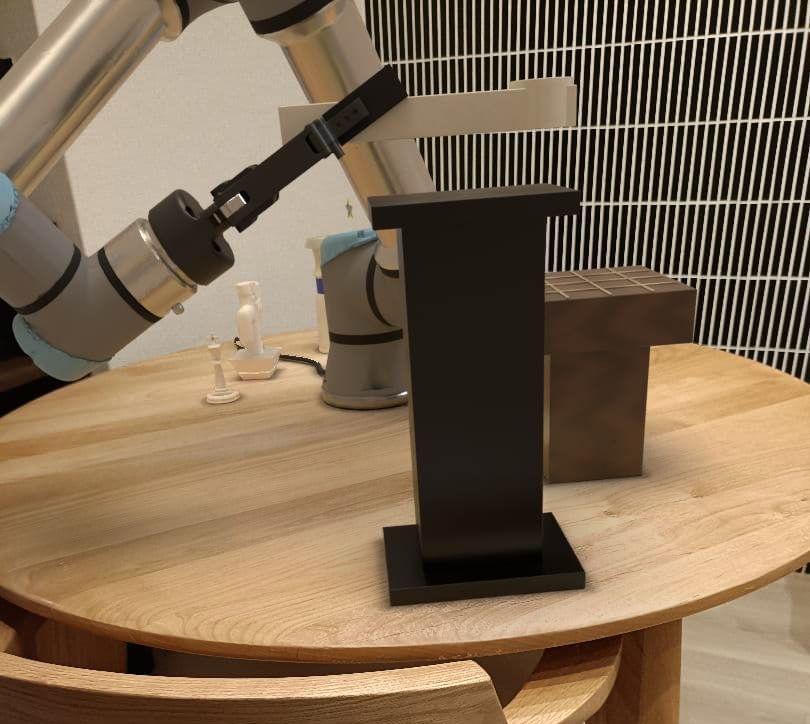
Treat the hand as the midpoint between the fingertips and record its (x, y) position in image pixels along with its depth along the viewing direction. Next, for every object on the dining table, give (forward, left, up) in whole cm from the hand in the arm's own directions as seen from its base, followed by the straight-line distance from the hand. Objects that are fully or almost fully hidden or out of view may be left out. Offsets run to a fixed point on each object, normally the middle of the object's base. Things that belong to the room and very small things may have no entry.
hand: (396, 82), depth 66 cm
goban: (+8, +19, -38) cm, 43 cm away
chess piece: (-51, +17, -38) cm, 66 cm away
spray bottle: (-56, +49, -38) cm, 83 cm away
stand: (+11, -7, -38) cm, 40 cm away
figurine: (-56, +29, -38) cm, 73 cm away
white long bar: (+2, +1, -4) cm, 5 cm away
